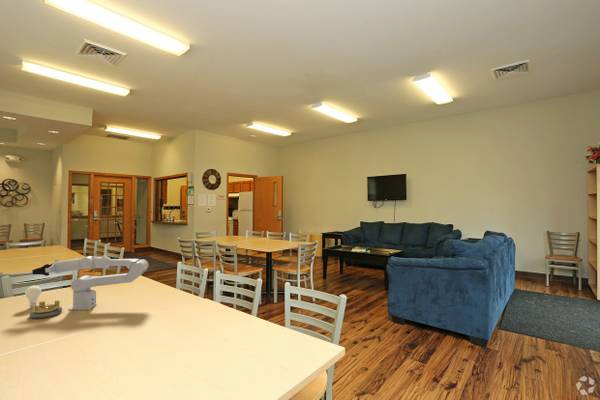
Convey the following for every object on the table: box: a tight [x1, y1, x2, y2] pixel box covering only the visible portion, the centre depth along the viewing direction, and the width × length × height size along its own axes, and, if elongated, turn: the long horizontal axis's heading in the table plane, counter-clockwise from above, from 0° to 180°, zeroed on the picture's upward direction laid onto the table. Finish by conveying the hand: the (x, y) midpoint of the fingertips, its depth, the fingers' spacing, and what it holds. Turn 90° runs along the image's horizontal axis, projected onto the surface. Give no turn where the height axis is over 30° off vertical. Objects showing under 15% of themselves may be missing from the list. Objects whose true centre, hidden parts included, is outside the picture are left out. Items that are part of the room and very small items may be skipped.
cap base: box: [29, 306, 63, 320], centre depth 147 cm, size 12×12×2 cm
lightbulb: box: [24, 285, 42, 309], centre depth 156 cm, size 6×6×11 cm
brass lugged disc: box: [32, 299, 61, 314], centre depth 147 cm, size 10×10×3 cm
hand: (37, 270), depth 153 cm, fingers open, 7 cm apart
